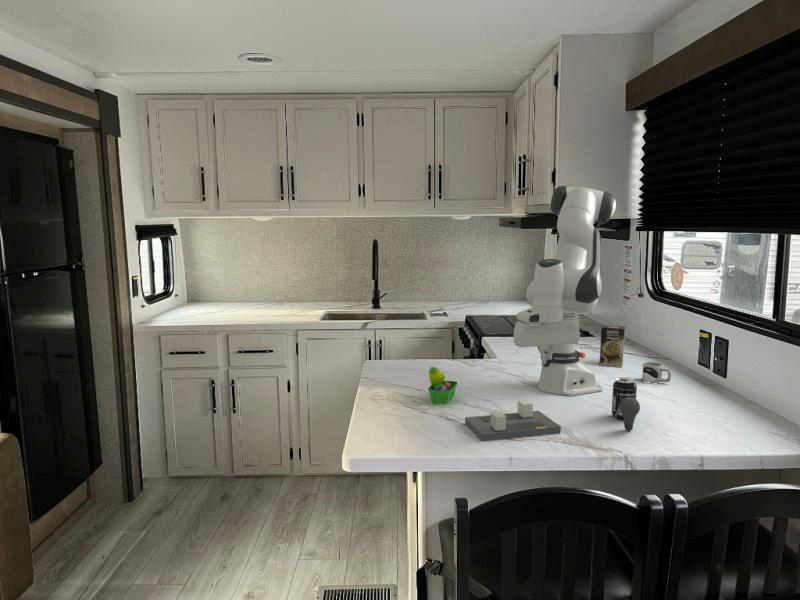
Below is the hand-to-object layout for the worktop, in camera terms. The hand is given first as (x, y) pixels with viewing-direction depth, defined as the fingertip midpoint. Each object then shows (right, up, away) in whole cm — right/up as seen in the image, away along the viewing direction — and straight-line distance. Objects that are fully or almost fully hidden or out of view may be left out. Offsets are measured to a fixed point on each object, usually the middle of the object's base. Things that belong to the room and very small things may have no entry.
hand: (546, 359), depth 178 cm
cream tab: (-6, -17, +1) cm, 18 cm away
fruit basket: (-30, -16, +23) cm, 41 cm away
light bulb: (+22, -20, -6) cm, 31 cm away
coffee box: (+43, -9, +66) cm, 79 cm away
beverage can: (+25, -19, +5) cm, 31 cm away
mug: (+51, -13, +41) cm, 67 cm away
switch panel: (-11, -20, -4) cm, 23 cm away
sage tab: (-16, -19, -9) cm, 26 cm away
